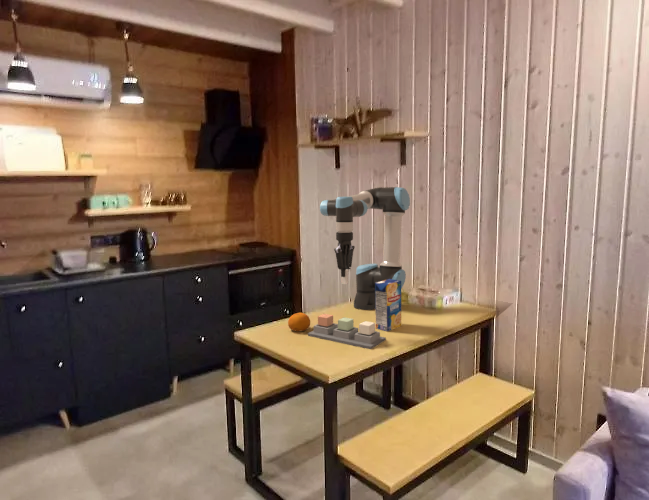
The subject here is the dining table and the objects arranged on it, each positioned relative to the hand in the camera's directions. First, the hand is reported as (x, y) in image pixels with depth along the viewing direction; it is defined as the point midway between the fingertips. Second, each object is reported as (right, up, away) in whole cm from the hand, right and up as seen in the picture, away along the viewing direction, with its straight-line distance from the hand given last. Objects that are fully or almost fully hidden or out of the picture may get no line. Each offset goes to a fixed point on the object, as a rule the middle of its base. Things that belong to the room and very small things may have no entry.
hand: (344, 283), depth 220 cm
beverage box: (+21, -22, +11) cm, 32 cm away
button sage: (0, -20, -3) cm, 20 cm away
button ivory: (+9, -20, -9) cm, 24 cm away
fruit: (-21, -23, +11) cm, 33 cm away
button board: (0, -24, -2) cm, 24 cm away
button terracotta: (-9, -19, +4) cm, 21 cm away
